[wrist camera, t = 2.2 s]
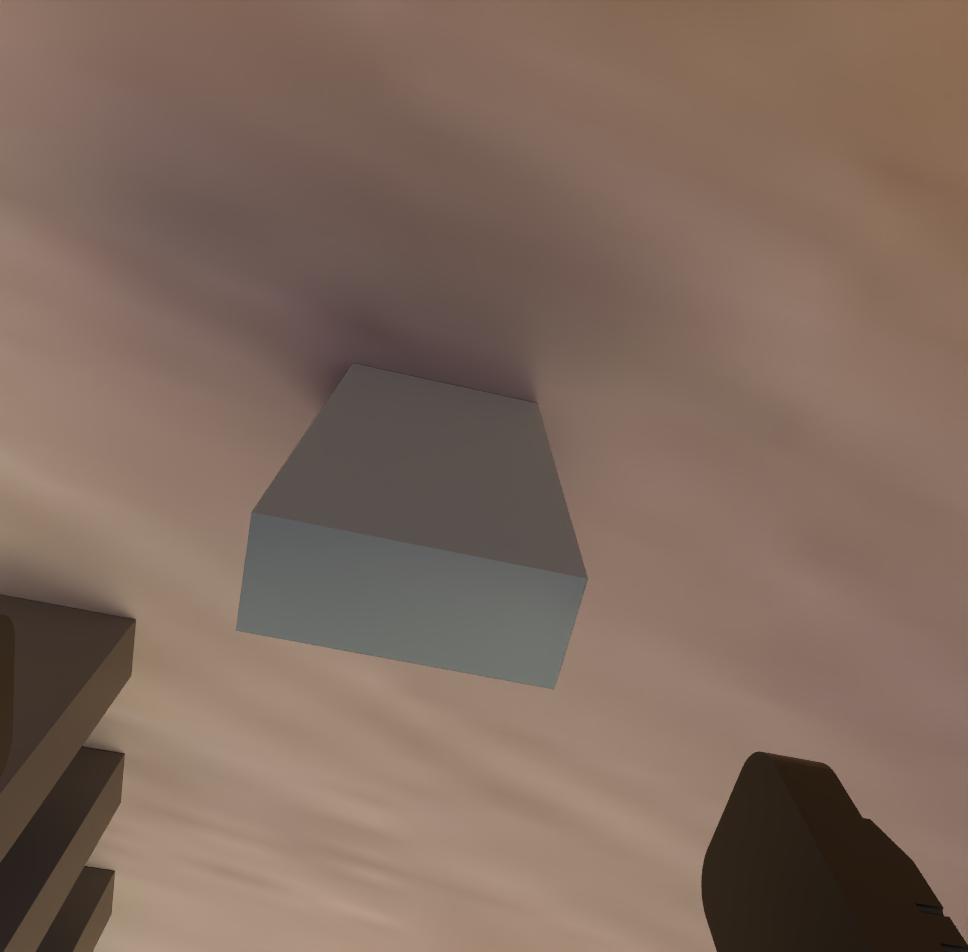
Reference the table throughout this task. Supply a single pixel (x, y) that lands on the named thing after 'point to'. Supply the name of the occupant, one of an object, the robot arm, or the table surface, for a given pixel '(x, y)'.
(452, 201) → the table surface
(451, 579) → the domino
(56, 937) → the domino
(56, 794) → the domino
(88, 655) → the domino
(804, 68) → the table surface
